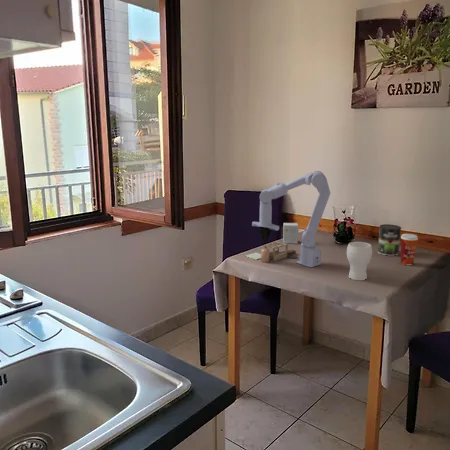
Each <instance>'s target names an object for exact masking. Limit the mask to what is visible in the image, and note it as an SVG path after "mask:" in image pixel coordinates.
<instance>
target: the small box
mask: <svg viewBox="0 0 450 450" xmlns="http://www.w3.org/2000/svg"><path fill="white" fill-rule="evenodd" d="M282 226H283V227H282V231H283V232H282V233H283V234H282V241H283V242H282V243H284V244H293V245H294V244H298V241H299V224H298V222H283V225H282Z"/></svg>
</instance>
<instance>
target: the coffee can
mask: <svg viewBox="0 0 450 450" xmlns="http://www.w3.org/2000/svg"><path fill="white" fill-rule="evenodd" d="M401 229H402V227H401V226H400V225H396V224H388V223H387V224H380V225H379V233H378V234H379V235H378V246H377V253H378V255H381V254H382V256H385V255H388V256H387V257H395V256H394V255H396V256H398V255H399V253H400V252H399V251H400V243H401V231H402V230H401Z"/></svg>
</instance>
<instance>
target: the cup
mask: <svg viewBox="0 0 450 450" xmlns="http://www.w3.org/2000/svg"><path fill="white" fill-rule="evenodd" d="M372 256H373V247H372V245H371V244H370V243H368V242H365V241H364V242H363V241H352V242H349V243H348V245H347V248H346V257H347V260H348V263H349V272H348V278H349V279H350V278H351V279H350V280H353V281H365V279H366V280H367V279H368V275H367V268H368V265H369V263H371V262H370V261H371V260H372Z"/></svg>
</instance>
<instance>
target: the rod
mask: <svg viewBox="0 0 450 450" xmlns="http://www.w3.org/2000/svg"><path fill="white" fill-rule="evenodd" d="M296 251H297V250H295V249H288V252H287V256H291V255H294V256H296V254H297V252H296ZM282 253H285V250H283V251H279V252H278V253H275V255H278V254H282ZM271 260H273V254H269V261H271Z"/></svg>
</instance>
